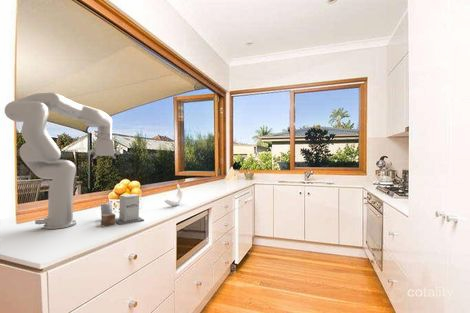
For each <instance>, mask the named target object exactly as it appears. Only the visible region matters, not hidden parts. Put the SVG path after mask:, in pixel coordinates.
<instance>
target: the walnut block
mask: <svg viewBox="0 0 470 313" xmlns="http://www.w3.org/2000/svg"><path fill="white" fill-rule="evenodd" d="M100 216H101V215H100ZM115 218H116V214H115V213H113V212H112V213H108V214H102V216H101V223H100V224H101V225H102V227H104V226H105V227H110V225H111V226H115V225H116V222H115Z"/></svg>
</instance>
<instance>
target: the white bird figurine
mask: <svg viewBox="0 0 470 313" xmlns="http://www.w3.org/2000/svg"><path fill="white" fill-rule="evenodd" d="M176 188H177V193H176V196H175V198H174V199H172V198H169V199H168V198H167V199H165V200H164V202H165V203H166V205H169V206H173V207H175V206H177V205H179V204H180V203H181V201H182V199H183V190H182V188H181V186H180V184H179V183H177V184H176Z"/></svg>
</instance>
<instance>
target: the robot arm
mask: <svg viewBox="0 0 470 313" xmlns="http://www.w3.org/2000/svg"><path fill="white" fill-rule="evenodd" d="M50 112H53V113H55V114H58V115H61V116H63V117H66V118H68V119H70V120H75V121H83V123H84V125H85V126H87V127H88V128H89V127H90V128H97V134H94V137H95V138H96V140H95V144H94V148H92V149H90V150H88V151H87V154H88V155H89V157H90V158H91V159H92V164H93V166H97V158H98V156H99V157H100V156H102V157H110V158H112V159H111V166H115V165H116V159H117V158H119V156H120V154H121V151H119V150H117V149H115V141H114V139H113V138H112V137H113V118H112V117H111V116H110V115H109V114H108V113H106V112H105V111H103V110H101V109H98V108H95V107H91V106H88V105H85V104H80V103H78V102H75V101H73V100H71V99H69V98H66V97H65V96H63V95H61V94H59V93H56V92H38V93H32V94H29V95H26V96H24V97H21V98H18V99H16V100H12V101H10V102H8V103H7V104H6V105H5V107H4V114H5V117H7V118H8V119H10V120H11V121H13V122H17V123H21V122H22V126H21V135H22V136H21V137H22V138H23V140H24V141H25V143H23V144H22V145H21V146H20V148H19V157H20V158H21V160H22V161H23V162H24V163H25V164H26V166H27V167H28V168H29V169H30V170H31V172H32V173H33V174H35V176H37V177H38V178H40V179H43V180H52V181H51V183H50V185H49V186H48V197H47V199H48V201H47V202H48V208H47V210H48V211H47V216H46V217H44V219H35V221H34V224H35V225H42V224H43V228H44V229H46V230H57V229H63V228H70V227H73V226H75V225H76V224H77V220H75V219H73V218H74V217H73V215H74V214H73V213H74V182H75V177H76V173H77V166H76V164H75V163H74V162H72V161H71V160H67V159H60V158H61V156H62V152H61V148H59V146H58V145H57V143H56V142H55V141H54V139H53V138H52V136H51V135H50V133H49V132H48V130H47V122H48V118H49V116H50ZM93 152H94V155H93V154H92V153H93ZM115 153H116V154H115Z"/></svg>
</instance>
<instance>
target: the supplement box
mask: <svg viewBox="0 0 470 313" xmlns="http://www.w3.org/2000/svg"><path fill="white" fill-rule="evenodd" d="M139 209H140V195H138V194H135V193H132V194H120V195H119V213H118V214H119V217H118V218H119V219H121V220H123V221H129V220H135V219H139V217H140V216H139V214H140V210H139Z"/></svg>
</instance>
